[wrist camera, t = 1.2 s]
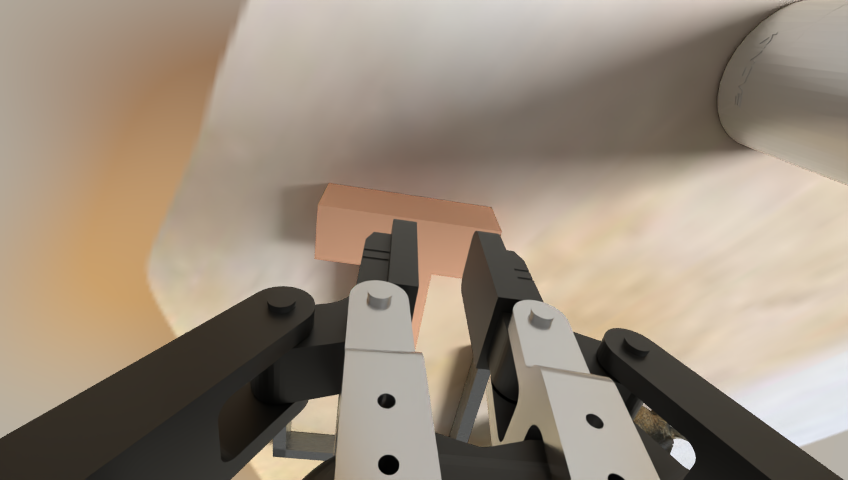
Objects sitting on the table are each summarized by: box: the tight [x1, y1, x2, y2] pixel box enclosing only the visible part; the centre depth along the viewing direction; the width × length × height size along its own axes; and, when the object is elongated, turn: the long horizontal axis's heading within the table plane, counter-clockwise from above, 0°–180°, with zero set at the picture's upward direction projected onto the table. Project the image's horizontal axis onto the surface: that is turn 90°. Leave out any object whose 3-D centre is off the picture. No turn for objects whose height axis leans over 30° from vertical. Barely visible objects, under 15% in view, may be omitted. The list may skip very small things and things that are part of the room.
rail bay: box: [273, 357, 490, 461], centre depth 39 cm, size 18×15×2 cm
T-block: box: [315, 183, 502, 349], centre depth 31 cm, size 12×12×4 cm
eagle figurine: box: [633, 406, 688, 454], centre depth 39 cm, size 8×7×9 cm
